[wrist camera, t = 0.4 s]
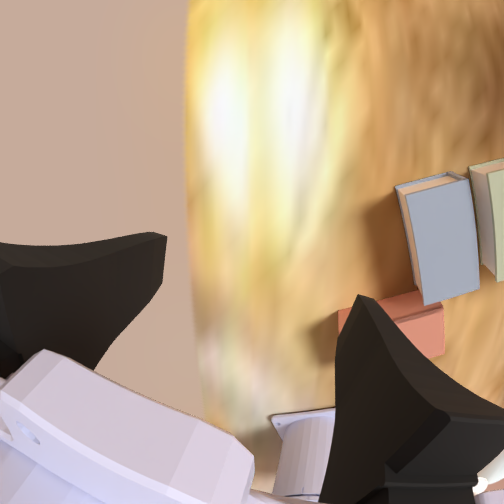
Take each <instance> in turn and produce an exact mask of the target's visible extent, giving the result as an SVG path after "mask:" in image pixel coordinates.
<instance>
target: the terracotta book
mask: <svg viewBox="0 0 504 504" xmlns="http://www.w3.org/2000/svg"><path fill="white" fill-rule="evenodd" d="M376 302H377V303H378V304H379V305H380V306H381V307H382V308H383V309H384V311H385V312H386V313H387V314H388V315H389V317H390V318H391V319H392V320H393V322H394V323H395V324H396V325H397V326H398V328H399V329H400V330H401V331H402V332H403V333H404V335H405V336H406V337H407V338H408V339H409V340H410V341H411V342H412V343H413V344H414V346H415V347H416V348H417V349H418V350H419V351H420V352H421V353H422V354H423V355H424V356H425V357H427V358H432V357H435V356H439V355H442V354H445V334H444V311H443V306H442V304H441V302H436V303H433V304H429V305H426V306H424V304H423V297H422V294H421V292H420V290H415V291H412V292H408V293H404V294H401V295H397V296H393V297H390V298H386V299H382V300H378V301H376ZM351 309H352V307H350V308H346V309H342V310H338V324H339V335H340V332H341V330H342V328H343V326H344V324H345V322H346V320H347V317H348V315H349V313H350V311H351Z"/></svg>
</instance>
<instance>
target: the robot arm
mask: <svg viewBox="0 0 504 504" xmlns="http://www.w3.org/2000/svg"><path fill="white" fill-rule="evenodd" d="M166 243H167V236H165V235H161V234H158V233H155V232H146V233H138V234H133V235H127V236H122V237H117V238H113V239H108V240H102V241H95V242H90V243H83V244H74V245H61V246H30V245H16V244H8V243H1V242H0V504H504V489H500V490H493V491H486V492H482V493H479V494H477V495H475V496H474V493H473V487H475V486H476V485H478V482H479V481H478V476H477V473H478V472H479V471H481V470H482V469H483V468H484V467H485V466H487V465H488V464H489V463H490V462H491V461H492V460H493V459H494V458H496V457H497V456H498V455H499V454H500V453H501V452H502V451H503V449H504V409H503V408H501V407H499V406H497V405H495V404H493V403H491V402H489V401H487V400H485V399H483V398H481V397H479V396H478V395H476V394H474V393H473V392H471V391H469V390H468V389H466V388H465V387H463V386H462V385H460V384H459V383H457V382H456V381H454V380H453V379H452V378H450V377H449V376H448V375H447V374H445V373H444V372H443V371H441V370H440V369H439V368H438V367H437V366H435V365H434V364H433V363H432V362H431V361H430V360H429V359H428V358H427V357H425V356H424V355H423V354H422V353H421V352H420V351H419V350H418V349H417V348H416V347H415V346H414V344H413V343H412V342H411V341H410V340H409V339H408V338H407V337H406V336H405V335H404V333H403V332H402V331H401V330H400V329H399V328H398V326H397V325H396V324H395V323H394V322H393V320H392V319H391V318H390V317H389V315H388V314H387V313H386V312H385V311H384V309H383V308H382V307H381V306H380V305H379V304H378V303H377V302H376V301H375V300H374V299H373V298H369V297H366V296H362V295H359V294H358V295H357V297H356V299H355V302H354V304H353V306H352V309H351V311H350V313H349V315H348V317H347V320H346V322H345V324H344V326H343V328H342V330H341V332H340V335H339V337H338V340H337V347H336V356H335V408H330V409H324V410H317V411H309V412H301V413H293V414H283V415H274V416H272V419H271V421H272V423H273V425H274V427H275V429H276V430H277V432H278V434H279V436H280V438H281V439H282V441H283V444H282V449H281V454H280V459H279V464H278V469H277V473H276V478H275V483H274V487H273V492H272V494H270V493H266V492H262V491H258V490H254V489H250V488H251V485H252V481H253V477H254V474H255V465H254V456H253V455H252V454H251V452H250V451H249V450H248V449H247V448H245V447H244V446H243V445H242V444H241V443H240V442H239V441H238V440H237V439H236V438H235V437H234V436H233V435H232V434H231V433H229V432H227V431H225V430H223V429H221V428H219V427H217V426H215V425H213V424H211V423H209V422H207V421H205V420H203V419H201V418H199V417H196V416H193V415H191V414H188V413H185V412H183V411H180V410H178V409H175V408H172V407H170V406H168V405H165V404H163V403H160V402H158V401H156V400H153V399H151V398H149V397H146V396H144V395H142V394H140V393H137V392H135V391H133V390H131V389H128V388H127V387H124V386H122V385H120V384H118V383H116V382H114V381H112V380H110V379H108V378H106V377H104V376H102V375H100V374H98V373H97V372H94V369H95V367H96V366H97V364H98V363H99V361H100V360H101V358H102V357H103V355H104V354H105V352H106V351H107V350H108V348H109V346H110V345H111V344H112V343H113V341H114V340H115V339H116V338H117V337H118V335H119V334H120V333H121V332H122V331H123V330H124V329H125V328H126V327H127V326H128V325H129V324H130V323H131V321H132V320H133V319H134V318H135V317H136V316H137V315H138V314H139V313H140V312H141V311H142V310H143V308H144V307H145V306H146V305H147V304H148V303H149V302H150V301H151V299H152V298H153V296H154V295H155V293H156V292H157V290H158V289H159V287H160V286H161V284H162V279H163V270H164V261H165V251H166Z"/></svg>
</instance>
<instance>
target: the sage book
mask: <svg viewBox="0 0 504 504" xmlns="http://www.w3.org/2000/svg"><path fill="white" fill-rule="evenodd" d="M469 173H470V178H471V183H472V189H473V196H474V202H475V209H476V217H477V226H478V236H479V248H480V263H481V265H483V264H484V265H485V266H486V267H487V268H488V269H489V270H490V271H491V272H492V273H493V274H494V275H495V281H496V282H500V281H503V280H504V158H501V159H497V160H493V161H489V162H485V163H481V164H477V165H473V166H469Z"/></svg>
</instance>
